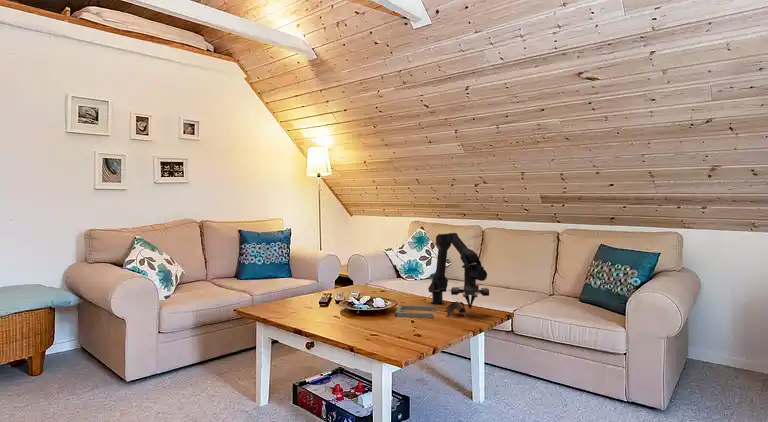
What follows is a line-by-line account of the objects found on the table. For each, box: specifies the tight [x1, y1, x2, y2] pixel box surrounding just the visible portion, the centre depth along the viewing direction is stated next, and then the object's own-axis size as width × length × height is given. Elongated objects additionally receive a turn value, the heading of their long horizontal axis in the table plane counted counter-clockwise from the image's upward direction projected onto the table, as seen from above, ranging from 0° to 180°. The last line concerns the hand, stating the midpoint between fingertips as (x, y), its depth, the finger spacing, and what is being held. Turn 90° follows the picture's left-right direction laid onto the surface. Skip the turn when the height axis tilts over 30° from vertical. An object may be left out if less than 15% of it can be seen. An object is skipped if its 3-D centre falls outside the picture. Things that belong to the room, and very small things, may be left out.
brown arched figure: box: [445, 301, 468, 318], centre depth 252 cm, size 12×10×8 cm
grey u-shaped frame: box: [394, 304, 437, 319], centre depth 257 cm, size 16×19×2 cm
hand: (470, 308), depth 252 cm, fingers closed
